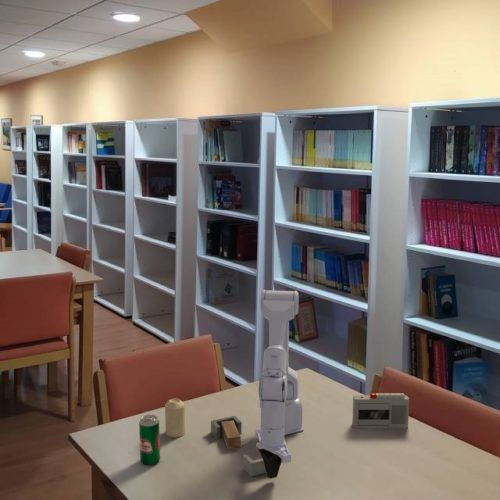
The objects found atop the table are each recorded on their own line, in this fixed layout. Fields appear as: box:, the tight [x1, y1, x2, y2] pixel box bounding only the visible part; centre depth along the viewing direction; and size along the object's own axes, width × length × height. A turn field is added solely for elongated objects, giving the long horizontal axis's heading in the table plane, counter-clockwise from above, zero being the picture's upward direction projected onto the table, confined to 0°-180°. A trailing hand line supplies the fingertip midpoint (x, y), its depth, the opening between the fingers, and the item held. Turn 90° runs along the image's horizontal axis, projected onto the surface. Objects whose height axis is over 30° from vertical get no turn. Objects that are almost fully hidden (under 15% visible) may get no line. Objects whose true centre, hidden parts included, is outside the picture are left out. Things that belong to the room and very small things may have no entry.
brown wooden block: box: [220, 421, 242, 450], centre depth 167 cm, size 4×10×4 cm, turn 13°
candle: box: [164, 397, 186, 438], centre depth 171 cm, size 6×6×10 cm
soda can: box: [138, 414, 161, 467], centre depth 155 cm, size 5×5×12 cm
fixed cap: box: [210, 415, 243, 440], centre depth 171 cm, size 8×4×4 cm, turn 116°
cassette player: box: [351, 392, 410, 429], centre depth 175 cm, size 16×3×10 cm, turn 90°
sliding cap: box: [242, 454, 267, 477], centre depth 152 cm, size 8×4×4 cm, turn 116°
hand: (272, 476), depth 147 cm, fingers closed
